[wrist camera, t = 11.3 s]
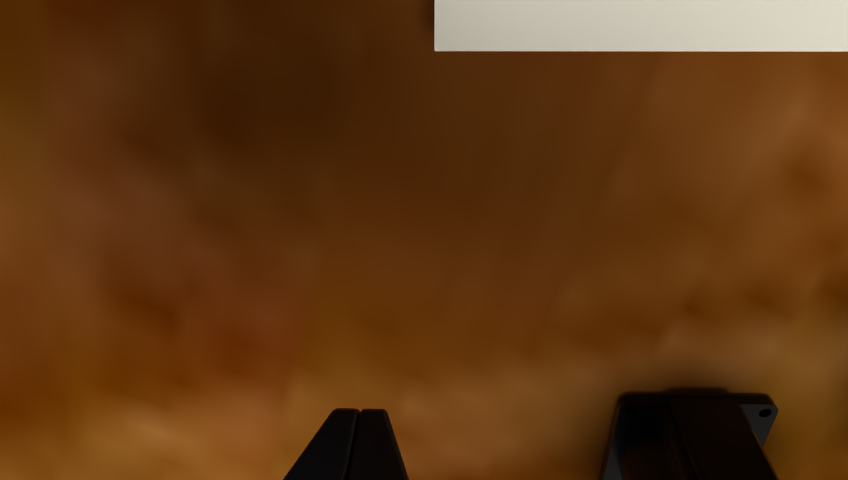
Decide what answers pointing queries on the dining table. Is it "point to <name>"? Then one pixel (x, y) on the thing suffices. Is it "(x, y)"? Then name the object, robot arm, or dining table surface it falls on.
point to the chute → (641, 25)
